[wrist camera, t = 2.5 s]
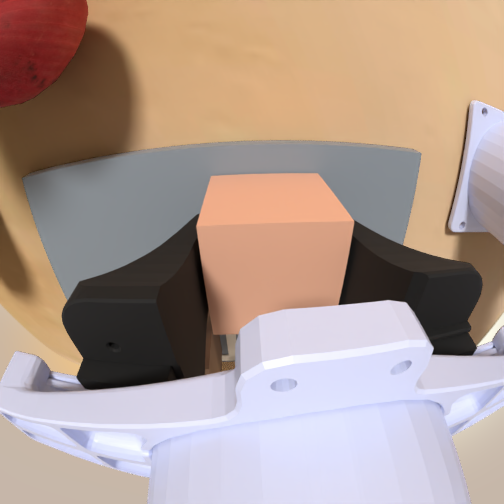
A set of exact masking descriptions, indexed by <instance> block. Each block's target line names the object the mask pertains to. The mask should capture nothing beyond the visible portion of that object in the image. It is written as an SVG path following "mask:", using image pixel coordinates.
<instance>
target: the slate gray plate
mask: <svg viewBox="0 0 504 504" xmlns="http://www.w3.org/2000/svg"><path fill="white" fill-rule="evenodd" d="M420 160H421V153H420V152H418V151H416V150H414V149H409V148H401V147H392V146H383V145H373V144H361V143H347V142H329V141H291V140H274V141H236V142H218V143H203V144H191V145H181V146H171V147H162V148H154V149H147V150H139V151H132V152H126V153H120V154H114V155H108V156H102V157H97V158H92V159H87V160H82V161H77V162H73V163H68V164H64V165H59V166H55V167H51V168H47V169H43V170H39V171H36V172H32V173H29V174H28V175H26V176H25V177H23V178H22V180H23V184H24V188H25V192H26V195H27V199H28V202H29V205H30V209H31V212H32V215H33V218H34V221H35V224H36V227H37V230H38V233H39V235H40V238H41V241H42V243H43V246H44V249H45V251H46V254H47V256H48V259H49V261H50V263H51V266H52V268H53V270H54V273H55V275H56V277H57V280H58V282H59V284H60V286H61V288H62V290H63V292H64V294H65V297H66V299H67V301H68V299H69V297H70V296H71V294H72V292H73V291H74V289H75V287H76V286H77V284H78V283H79V281H82V280H86V279H89V278H92V277H96V276H99V275H102V274H105V273H108V272H110V271H113V270H115V269H118V268H120V267H123V266H125V265H127V264H129V263H131V262H133V261H135V260H137V259H139V258H141V257H142V256H144V255H146V254H148V253H149V252H151V251H152V250H154V249H156V248H157V247H159V246H160V245H161V244H163V243H164V242H165V241H167V240H168V239H169V238H170V237H172V236H173V235H174V234H175V233H177V232H178V231H179V230H180V229H181V228H182V227H183V226H184V225H186V224H187V223H188V222H189V221H190V220H191V219H192V218H193V217H194V216H196V215H197V214H200V212H201V208H202V205H203V201H204V198H205V195H206V191H207V188H208V185H209V181H210V178H211V176H218V175H238V174H269V173H318V174H319V175H320V176H321V178H322V179H323V180H324V181H325V183H326V184H327V185H328V187H329V188H330V189H331V190H332V192H333V193H334V194H335V196H336V197H337V198H338V200H339V201H340V202H341V204H342V205H343V206H344V208H345V209H346V210H347V212H348V213H349V215H350V216H351V217H352V219H354V220H355V221H357V222H359V223H360V224H362V225H364V226H365V227H367V228H369V229H371V230H372V231H374V232H376V233H378V234H380V235H382V236H384V237H386V238H388V239H390V240H392V241H394V242H397V243H399V244H401V245H403V242H404V238H405V234H406V230H407V226H408V222H409V217H410V213H411V208H412V204H413V199H414V194H415V189H416V184H417V178H418V172H419V166H420ZM237 338H238V334H224V335H220V341H221V347H222V362H232V361H235V344H236V341H237Z"/></svg>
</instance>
